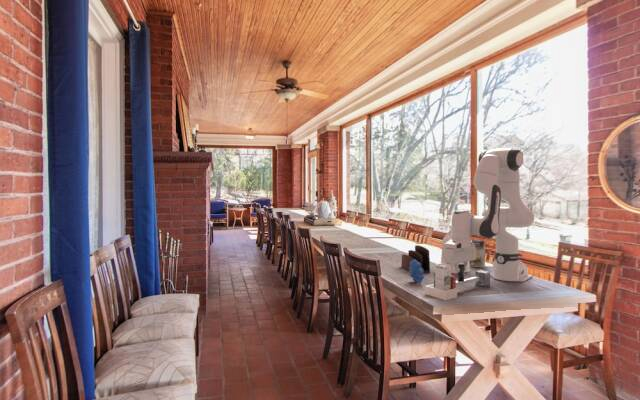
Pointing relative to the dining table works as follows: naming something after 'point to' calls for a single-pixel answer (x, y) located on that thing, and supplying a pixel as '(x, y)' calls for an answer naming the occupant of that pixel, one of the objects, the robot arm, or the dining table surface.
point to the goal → (440, 292)
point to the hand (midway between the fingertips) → (460, 271)
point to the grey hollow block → (483, 278)
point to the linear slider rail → (462, 278)
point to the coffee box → (479, 254)
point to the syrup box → (442, 276)
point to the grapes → (416, 271)
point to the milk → (445, 239)
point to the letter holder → (417, 258)
